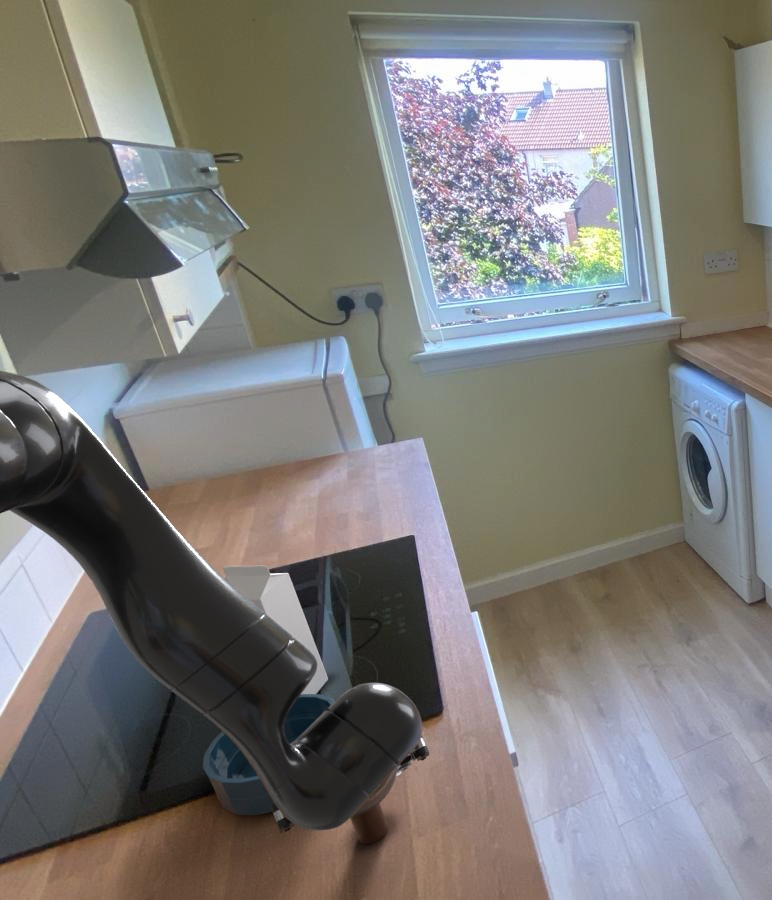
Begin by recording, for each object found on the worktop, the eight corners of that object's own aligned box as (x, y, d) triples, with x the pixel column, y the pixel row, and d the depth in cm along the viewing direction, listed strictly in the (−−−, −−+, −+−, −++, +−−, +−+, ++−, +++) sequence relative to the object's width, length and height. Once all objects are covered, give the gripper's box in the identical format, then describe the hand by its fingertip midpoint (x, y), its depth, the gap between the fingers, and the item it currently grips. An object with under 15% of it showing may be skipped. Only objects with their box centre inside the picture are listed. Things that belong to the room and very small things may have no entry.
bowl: (274, 833, 85) (256, 797, 82) (193, 798, 90) (174, 763, 87) (377, 743, 97) (365, 709, 94) (301, 716, 102) (288, 683, 99)
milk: (289, 680, 108) (238, 553, 99) (329, 679, 108) (282, 552, 99) (261, 710, 103) (204, 579, 94) (304, 709, 103) (251, 578, 94)
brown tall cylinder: (372, 847, 83) (347, 784, 79) (352, 839, 84) (327, 776, 80) (394, 825, 85) (371, 763, 81) (375, 818, 86) (351, 756, 82)
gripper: (416, 698, 74) (410, 721, 87) (248, 777, 66) (268, 790, 78) (446, 766, 73) (435, 780, 85) (278, 857, 64) (293, 857, 77)
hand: (355, 784), depth 82 cm, fingers open, 8 cm apart
